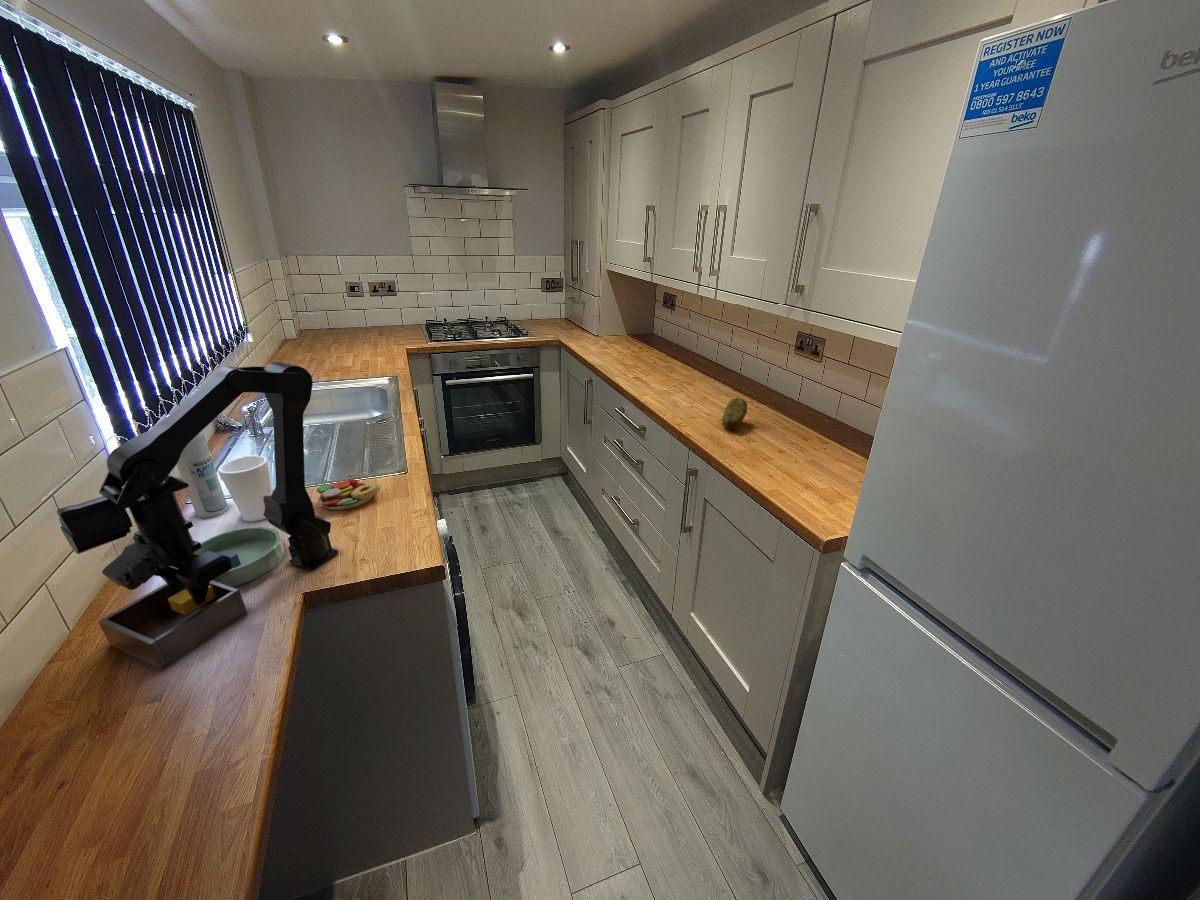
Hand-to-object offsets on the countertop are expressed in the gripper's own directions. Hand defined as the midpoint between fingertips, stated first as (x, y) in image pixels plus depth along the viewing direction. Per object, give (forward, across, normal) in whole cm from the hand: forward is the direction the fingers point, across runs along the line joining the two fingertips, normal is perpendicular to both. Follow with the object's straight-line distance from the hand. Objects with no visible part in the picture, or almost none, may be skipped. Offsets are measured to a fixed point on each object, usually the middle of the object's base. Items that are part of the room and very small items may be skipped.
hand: (193, 600), depth 89 cm
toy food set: (+4, -9, +41) cm, 42 cm away
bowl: (+4, -9, +13) cm, 16 cm away
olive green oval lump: (+4, +70, +124) cm, 142 cm away
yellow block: (+1, 0, 0) cm, 1 cm away
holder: (+4, 0, -3) cm, 5 cm away
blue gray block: (+3, -9, +10) cm, 14 cm away
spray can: (+4, -35, +25) cm, 43 cm away
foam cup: (+4, -23, +28) cm, 36 cm away
